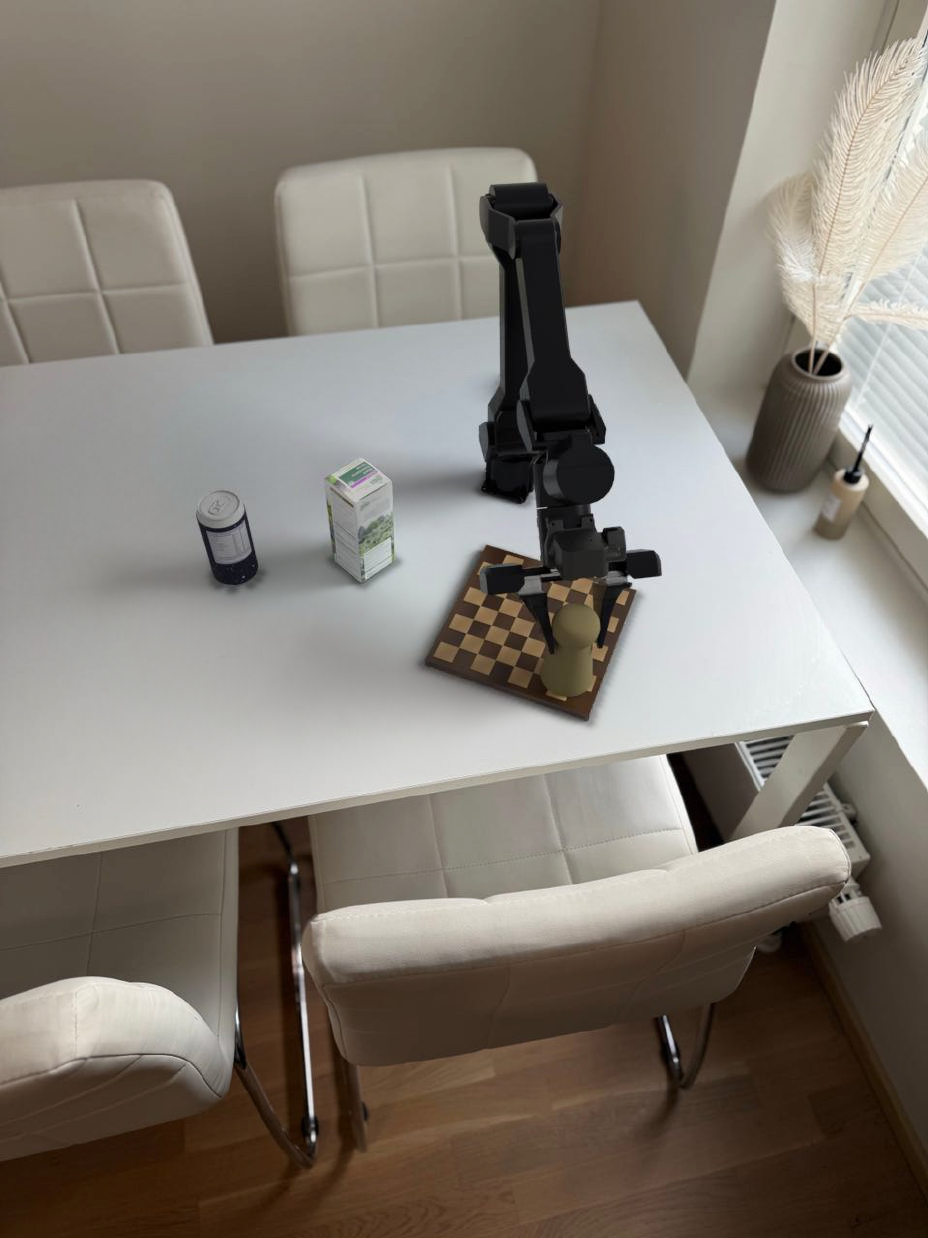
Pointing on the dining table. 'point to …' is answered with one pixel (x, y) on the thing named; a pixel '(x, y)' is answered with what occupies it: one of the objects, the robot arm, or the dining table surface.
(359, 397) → the dining table surface
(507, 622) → the chessboard
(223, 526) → the beverage can
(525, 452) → the robot arm
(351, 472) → the syrup box
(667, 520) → the dining table surface
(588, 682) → the chess pawn
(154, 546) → the dining table surface
